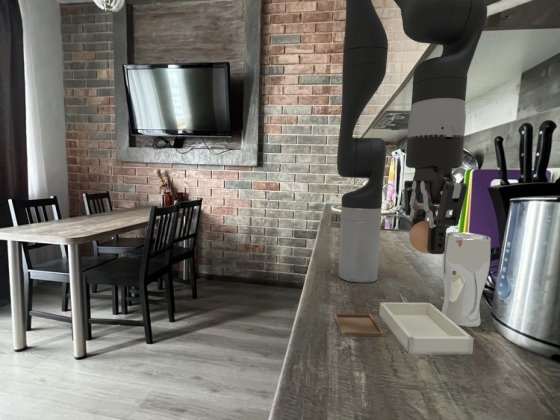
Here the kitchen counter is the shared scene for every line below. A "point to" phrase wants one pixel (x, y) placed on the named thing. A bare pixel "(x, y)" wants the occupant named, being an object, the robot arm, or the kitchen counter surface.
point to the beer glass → (464, 276)
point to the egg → (420, 236)
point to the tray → (425, 329)
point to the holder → (358, 325)
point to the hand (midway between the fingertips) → (426, 248)
